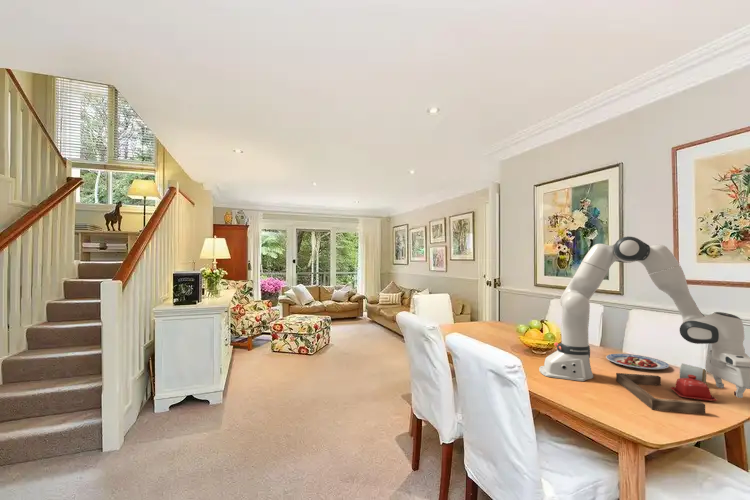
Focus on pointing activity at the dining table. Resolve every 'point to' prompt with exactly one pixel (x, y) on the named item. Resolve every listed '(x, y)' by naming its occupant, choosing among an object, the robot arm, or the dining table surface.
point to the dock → (654, 403)
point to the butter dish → (693, 389)
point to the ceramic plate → (637, 361)
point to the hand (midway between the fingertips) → (728, 392)
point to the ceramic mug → (692, 372)
